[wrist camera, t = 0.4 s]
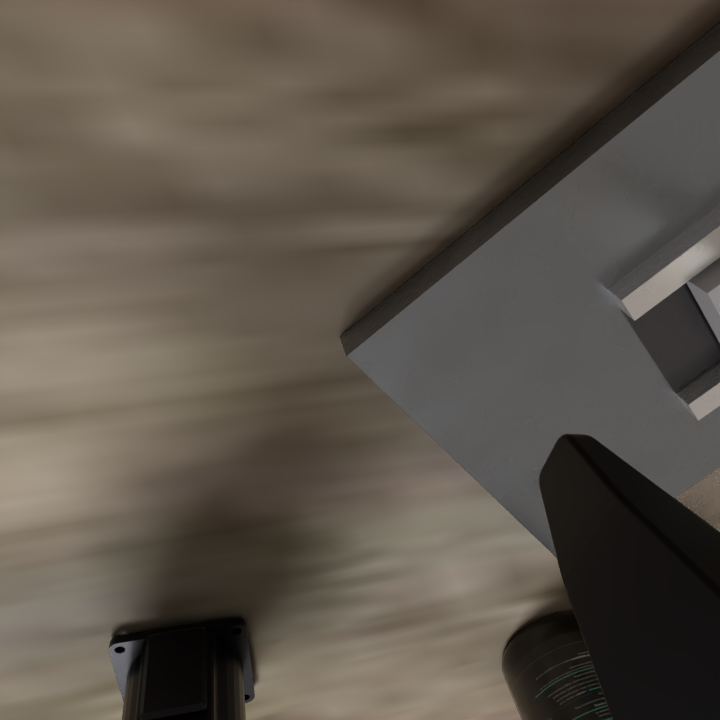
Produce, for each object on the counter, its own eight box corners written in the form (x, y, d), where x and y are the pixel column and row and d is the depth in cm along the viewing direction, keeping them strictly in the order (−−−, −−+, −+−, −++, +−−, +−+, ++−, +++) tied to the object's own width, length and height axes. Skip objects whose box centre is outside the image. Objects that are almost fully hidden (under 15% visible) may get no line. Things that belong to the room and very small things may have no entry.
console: (555, 547, 34) (578, 584, 32) (339, 336, 25) (351, 370, 23) (985, 252, 30) (1045, 274, 27) (911, -138, 20) (991, -150, 18)
